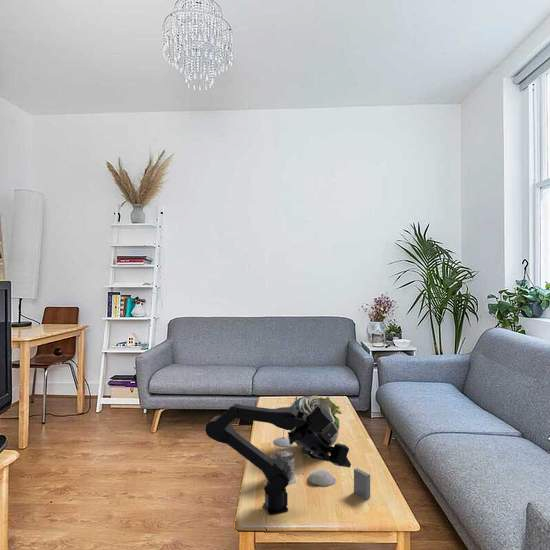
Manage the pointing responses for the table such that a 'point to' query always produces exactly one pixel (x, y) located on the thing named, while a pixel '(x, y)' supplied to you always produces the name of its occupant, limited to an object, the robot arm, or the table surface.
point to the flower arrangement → (310, 403)
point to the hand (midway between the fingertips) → (340, 463)
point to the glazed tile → (362, 483)
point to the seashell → (321, 478)
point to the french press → (285, 454)
